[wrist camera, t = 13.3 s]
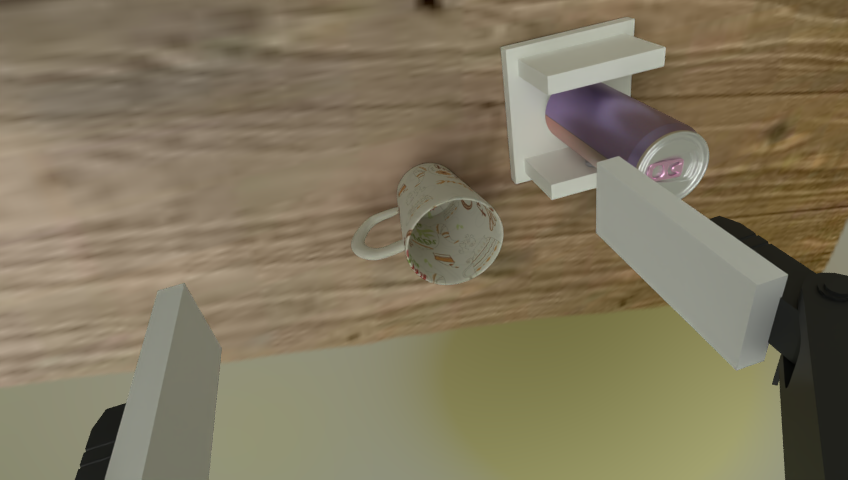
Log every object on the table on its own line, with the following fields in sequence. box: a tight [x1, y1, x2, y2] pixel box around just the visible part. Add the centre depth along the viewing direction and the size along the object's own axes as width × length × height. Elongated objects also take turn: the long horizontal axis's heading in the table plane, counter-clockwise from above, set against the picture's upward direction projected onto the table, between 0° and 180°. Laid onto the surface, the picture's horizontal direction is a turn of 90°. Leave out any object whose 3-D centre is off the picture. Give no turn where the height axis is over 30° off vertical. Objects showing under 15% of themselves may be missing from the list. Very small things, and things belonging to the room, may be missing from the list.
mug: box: [351, 163, 503, 285], centre depth 47 cm, size 8×13×10 cm, turn 108°
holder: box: [501, 17, 666, 200], centre depth 47 cm, size 12×13×7 cm
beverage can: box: [545, 82, 709, 199], centre depth 42 cm, size 6×6×15 cm
